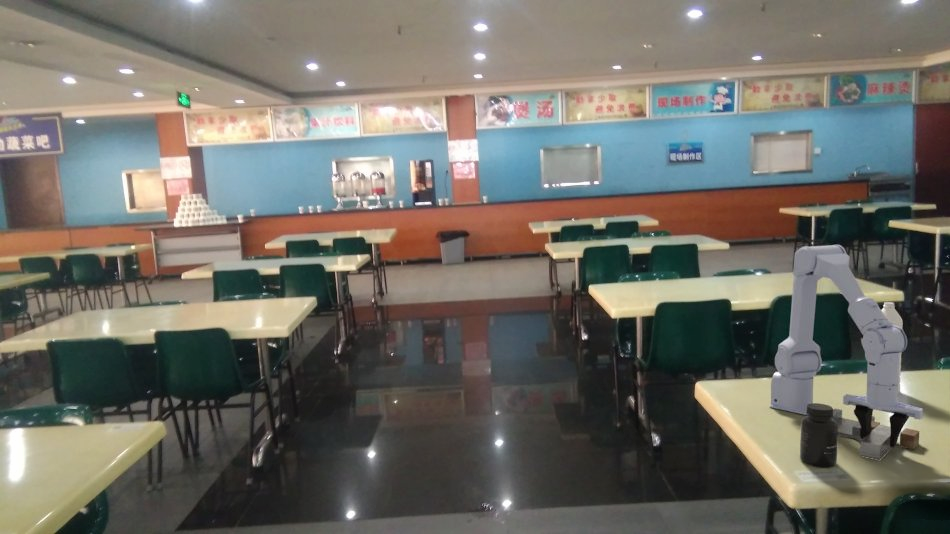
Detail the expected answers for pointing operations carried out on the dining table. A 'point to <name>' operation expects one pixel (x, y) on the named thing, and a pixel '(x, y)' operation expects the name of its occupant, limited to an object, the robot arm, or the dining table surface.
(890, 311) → the water bottle
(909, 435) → the wooden blocks
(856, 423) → the block
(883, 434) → the grey rectangular bar
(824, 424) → the supplement bottle
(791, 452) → the dining table surface
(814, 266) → the robot arm
